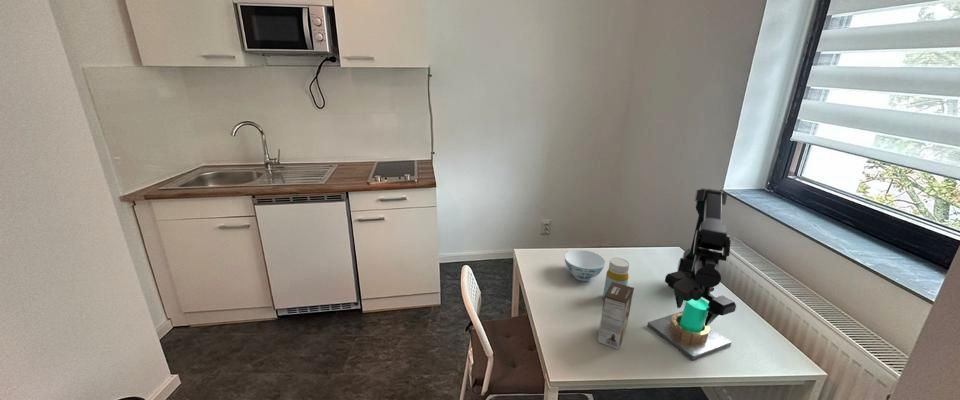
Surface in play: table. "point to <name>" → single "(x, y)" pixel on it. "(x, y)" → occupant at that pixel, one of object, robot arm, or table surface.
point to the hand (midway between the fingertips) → (692, 316)
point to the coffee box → (615, 315)
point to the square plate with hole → (688, 337)
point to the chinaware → (584, 264)
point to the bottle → (616, 273)
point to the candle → (694, 315)
